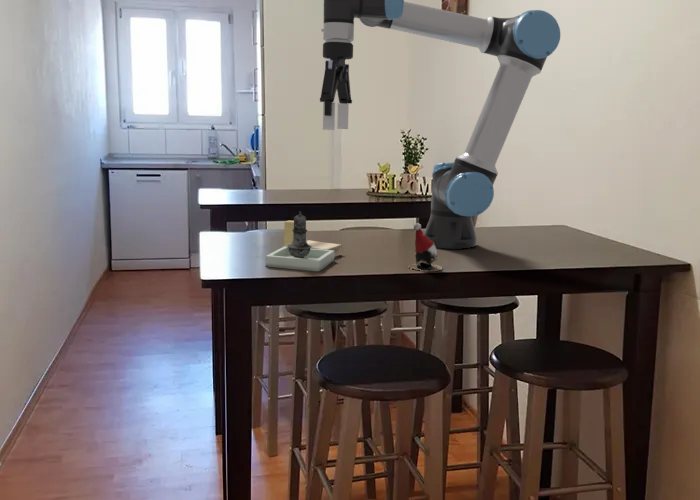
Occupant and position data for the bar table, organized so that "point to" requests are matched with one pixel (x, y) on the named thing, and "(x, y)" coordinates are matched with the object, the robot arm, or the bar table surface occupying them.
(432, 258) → the figurine
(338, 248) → the beige rectangular block
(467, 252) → the bar table surface
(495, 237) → the bar table surface
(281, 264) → the tray
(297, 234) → the salt shaker
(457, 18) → the robot arm
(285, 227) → the block
